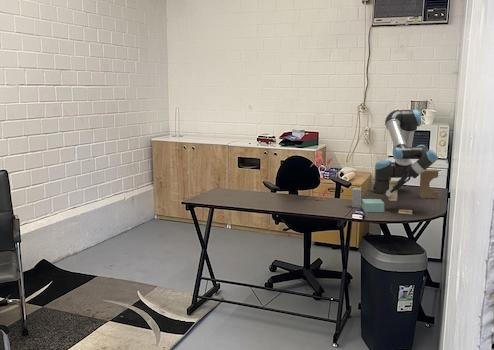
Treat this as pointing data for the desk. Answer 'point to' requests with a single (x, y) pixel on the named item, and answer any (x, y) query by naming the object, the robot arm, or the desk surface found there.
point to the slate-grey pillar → (356, 197)
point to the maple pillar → (394, 195)
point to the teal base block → (372, 205)
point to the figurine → (318, 162)
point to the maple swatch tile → (405, 211)
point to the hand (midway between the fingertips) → (387, 194)
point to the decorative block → (424, 184)
